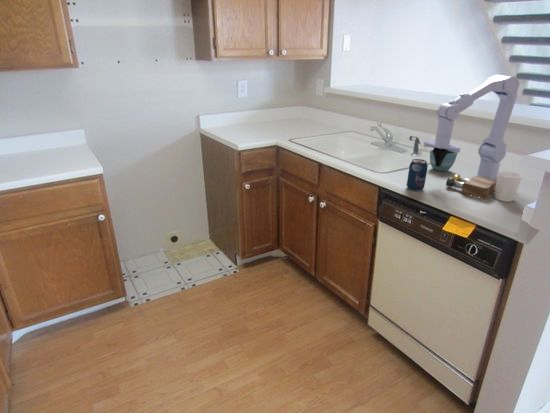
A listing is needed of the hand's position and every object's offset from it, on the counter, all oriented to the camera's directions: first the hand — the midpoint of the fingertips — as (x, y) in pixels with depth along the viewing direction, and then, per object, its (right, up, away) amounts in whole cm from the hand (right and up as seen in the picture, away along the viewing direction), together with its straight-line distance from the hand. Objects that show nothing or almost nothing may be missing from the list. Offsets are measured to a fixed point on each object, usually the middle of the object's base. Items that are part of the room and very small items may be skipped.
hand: (438, 165), depth 161 cm
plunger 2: (+11, -8, 0) cm, 14 cm away
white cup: (+21, -14, -12) cm, 28 cm away
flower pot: (+10, 0, +21) cm, 24 cm away
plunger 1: (+7, -10, -4) cm, 13 cm away
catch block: (+14, -11, -6) cm, 19 cm away
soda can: (-11, -10, -2) cm, 15 cm away
